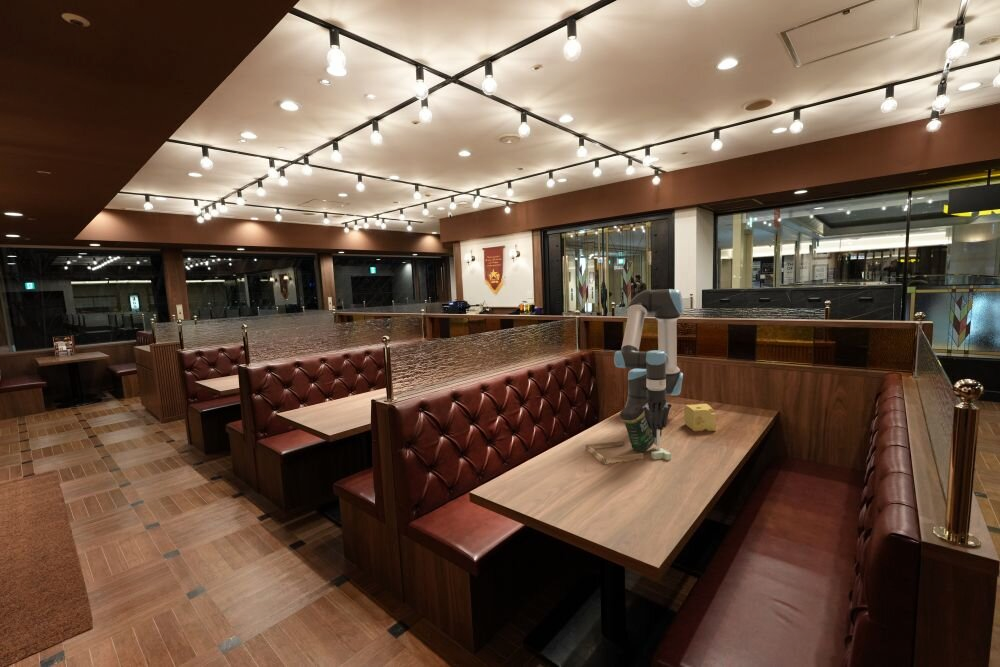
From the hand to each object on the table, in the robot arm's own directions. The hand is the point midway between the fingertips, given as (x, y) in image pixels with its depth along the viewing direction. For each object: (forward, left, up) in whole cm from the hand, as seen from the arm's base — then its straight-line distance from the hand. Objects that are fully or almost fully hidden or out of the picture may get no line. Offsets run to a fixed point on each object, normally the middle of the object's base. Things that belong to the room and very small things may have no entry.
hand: (656, 444), depth 179 cm
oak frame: (0, -19, -2) cm, 19 cm away
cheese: (-15, +33, -2) cm, 36 cm away
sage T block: (+9, -4, -2) cm, 10 cm away
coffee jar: (0, -5, 0) cm, 6 cm away
